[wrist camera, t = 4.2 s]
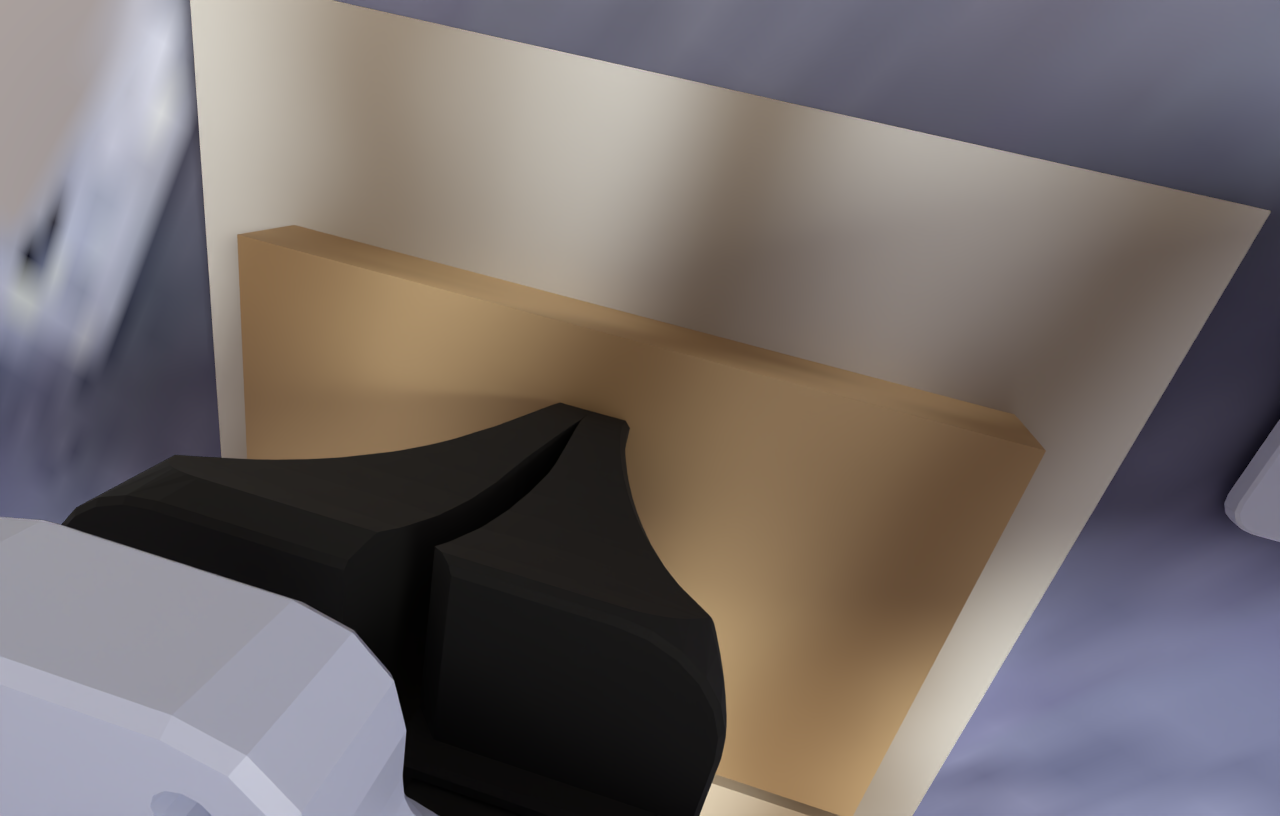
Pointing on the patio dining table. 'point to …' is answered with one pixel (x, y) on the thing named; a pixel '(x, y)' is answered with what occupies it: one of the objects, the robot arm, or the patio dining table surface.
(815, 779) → the plank
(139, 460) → the patio dining table surface
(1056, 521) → the floor section
